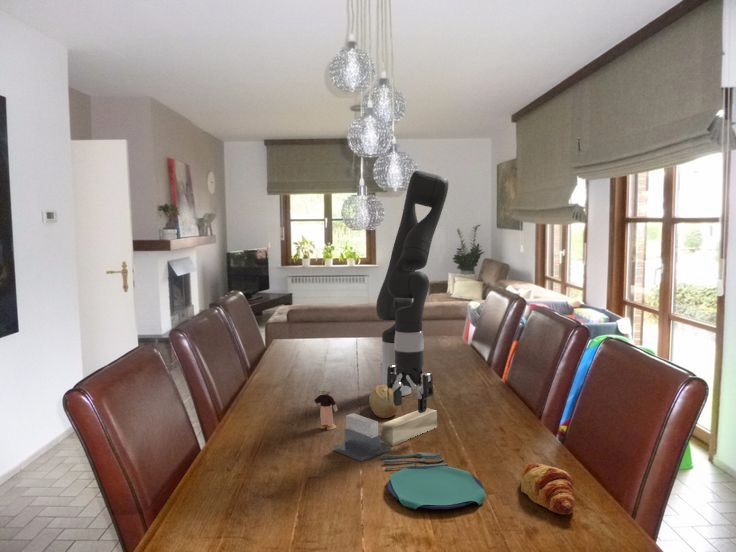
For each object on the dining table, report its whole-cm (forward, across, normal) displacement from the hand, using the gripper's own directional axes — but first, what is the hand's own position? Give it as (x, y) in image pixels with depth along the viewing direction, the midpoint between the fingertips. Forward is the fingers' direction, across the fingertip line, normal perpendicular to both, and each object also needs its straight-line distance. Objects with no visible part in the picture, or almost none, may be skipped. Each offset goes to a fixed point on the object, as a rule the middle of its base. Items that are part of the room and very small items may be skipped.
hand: (409, 408), depth 157 cm
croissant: (+8, -44, +6) cm, 45 cm away
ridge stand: (+7, +1, +16) cm, 17 cm away
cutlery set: (+8, -22, +18) cm, 30 cm away
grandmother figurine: (+7, +20, +12) cm, 24 cm away
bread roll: (+7, +18, -9) cm, 21 cm away
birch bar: (+7, 0, 0) cm, 7 cm away
